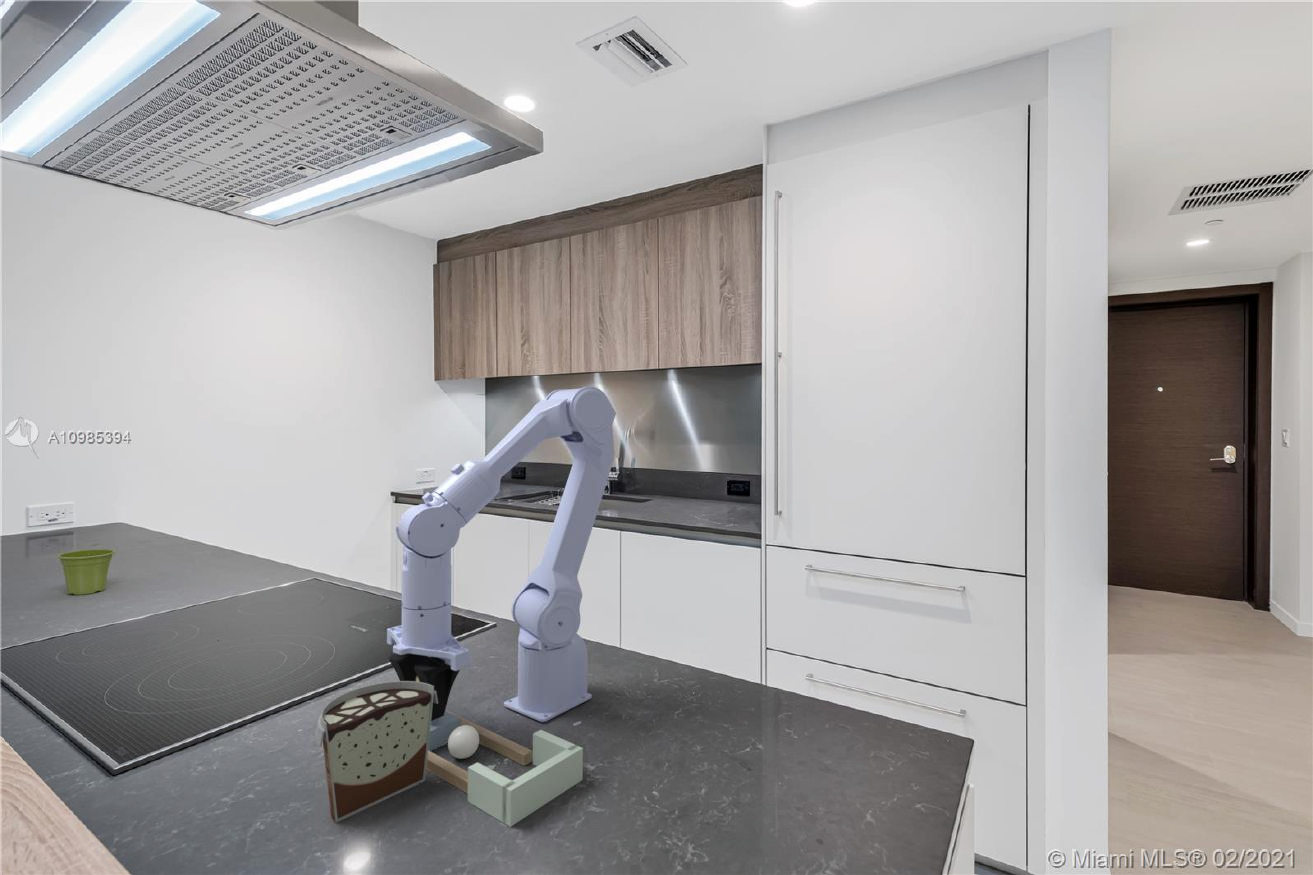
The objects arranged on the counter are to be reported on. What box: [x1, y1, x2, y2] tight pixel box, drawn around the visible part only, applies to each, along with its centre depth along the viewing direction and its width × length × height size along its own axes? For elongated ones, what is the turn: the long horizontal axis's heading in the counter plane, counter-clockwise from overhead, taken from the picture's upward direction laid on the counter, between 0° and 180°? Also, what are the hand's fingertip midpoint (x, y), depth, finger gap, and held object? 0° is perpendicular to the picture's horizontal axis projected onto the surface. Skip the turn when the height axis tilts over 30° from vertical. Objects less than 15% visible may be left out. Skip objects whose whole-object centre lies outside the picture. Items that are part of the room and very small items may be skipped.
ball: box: [447, 725, 479, 760], centre depth 72 cm, size 4×4×4 cm
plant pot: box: [57, 548, 116, 596], centre depth 138 cm, size 9×9×9 cm
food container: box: [314, 680, 438, 823], centre depth 65 cm, size 12×6×10 cm, turn 141°
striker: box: [416, 676, 461, 752], centre depth 75 cm, size 5×5×8 cm
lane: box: [426, 709, 533, 795], centre depth 73 cm, size 8×18×1 cm, turn 54°
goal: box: [467, 729, 584, 828], centre depth 65 cm, size 10×7×4 cm, turn 143°
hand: (426, 713), depth 76 cm, fingers open, 3 cm apart
